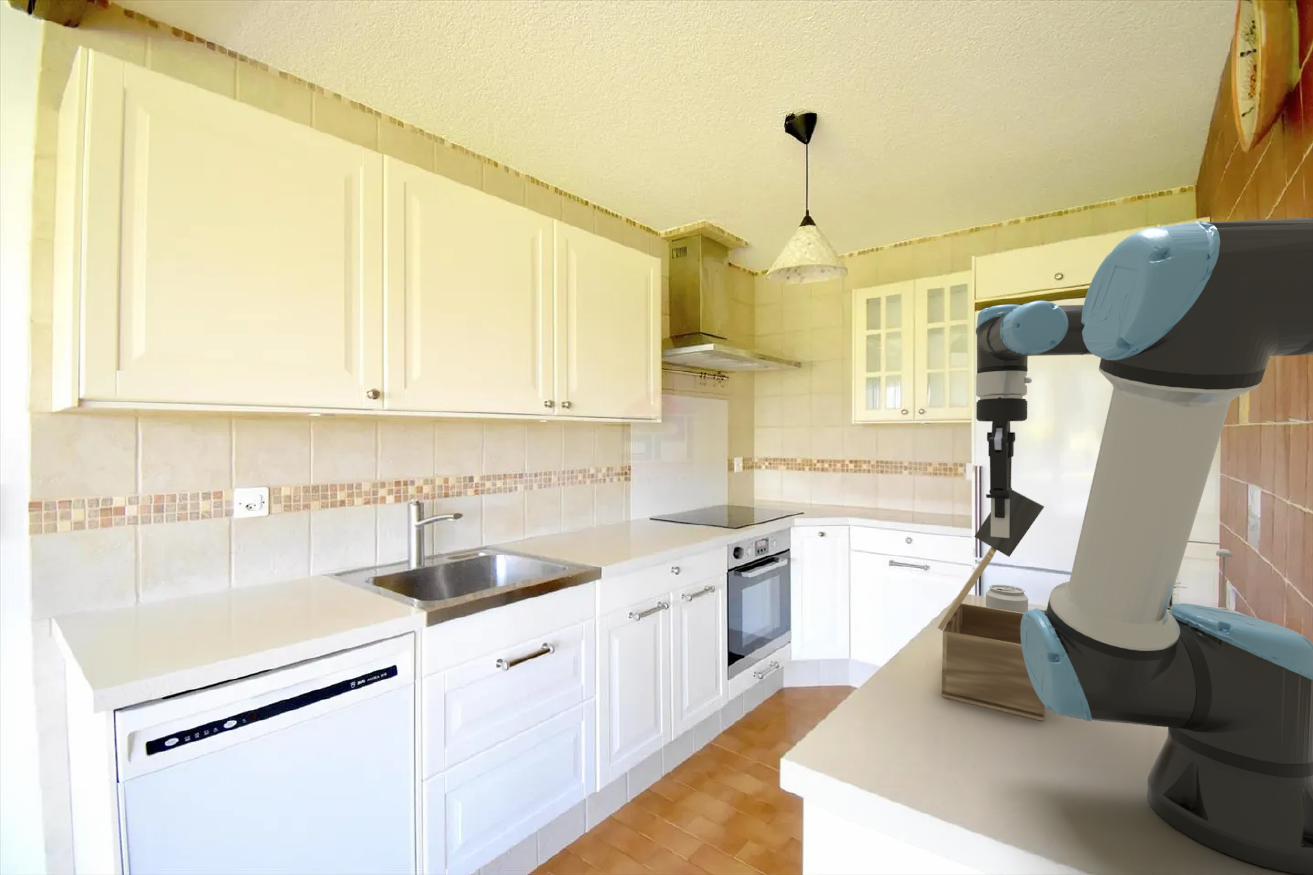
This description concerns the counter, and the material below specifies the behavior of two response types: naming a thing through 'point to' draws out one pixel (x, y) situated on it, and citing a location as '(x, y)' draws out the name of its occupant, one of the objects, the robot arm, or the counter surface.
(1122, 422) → the robot arm
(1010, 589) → the can
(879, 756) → the counter surface
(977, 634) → the wooden box
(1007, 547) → the wooden box lid
